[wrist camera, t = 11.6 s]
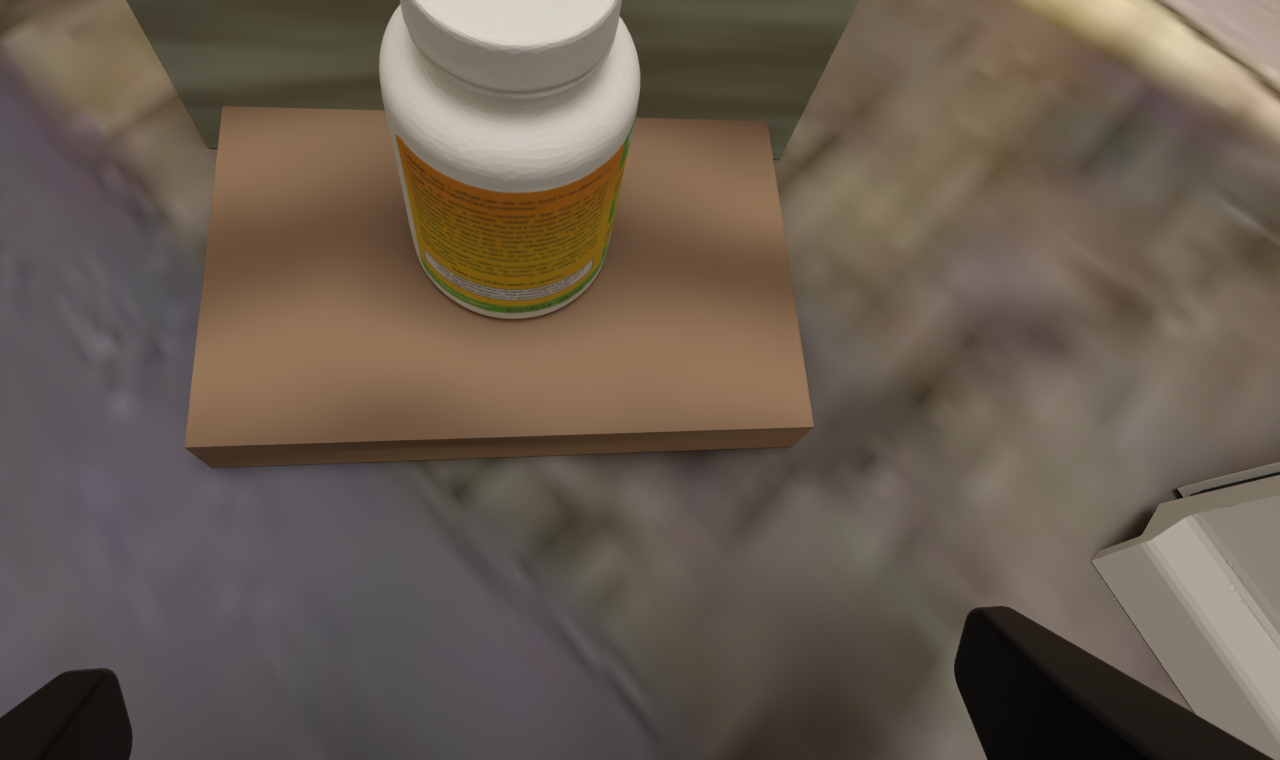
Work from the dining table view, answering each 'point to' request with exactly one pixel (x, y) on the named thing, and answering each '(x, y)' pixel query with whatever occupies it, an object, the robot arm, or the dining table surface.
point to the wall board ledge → (443, 329)
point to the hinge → (1212, 598)
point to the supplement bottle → (510, 143)
